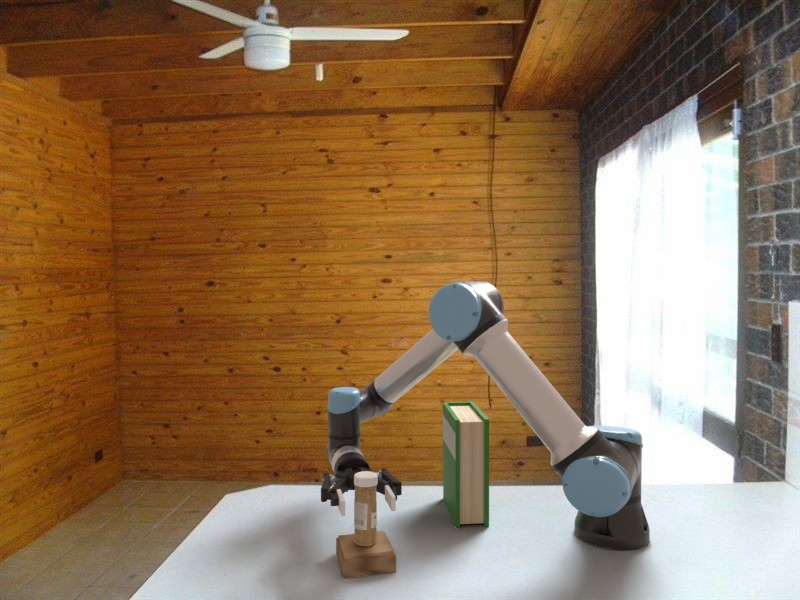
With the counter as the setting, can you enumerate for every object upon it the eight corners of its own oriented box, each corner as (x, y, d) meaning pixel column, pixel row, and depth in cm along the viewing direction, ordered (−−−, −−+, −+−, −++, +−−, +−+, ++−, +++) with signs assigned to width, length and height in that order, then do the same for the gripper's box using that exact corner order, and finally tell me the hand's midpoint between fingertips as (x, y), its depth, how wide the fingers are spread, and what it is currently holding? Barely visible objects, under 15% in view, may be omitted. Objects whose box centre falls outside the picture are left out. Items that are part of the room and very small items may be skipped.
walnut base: (385, 548, 129) (385, 529, 129) (396, 572, 119) (395, 551, 119) (336, 554, 127) (336, 534, 126) (343, 578, 117) (342, 557, 117)
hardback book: (489, 527, 139) (489, 419, 138) (455, 528, 139) (455, 420, 137) (472, 497, 157) (472, 401, 155) (443, 498, 156) (442, 402, 155)
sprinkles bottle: (381, 544, 122) (382, 475, 122) (360, 549, 120) (361, 479, 119) (369, 535, 126) (370, 468, 125) (349, 540, 123) (349, 472, 123)
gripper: (398, 480, 142) (424, 520, 120) (301, 488, 138) (310, 532, 116) (398, 447, 142) (424, 481, 120) (301, 454, 137) (310, 491, 115)
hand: (368, 506), depth 118 cm, fingers open, 9 cm apart
